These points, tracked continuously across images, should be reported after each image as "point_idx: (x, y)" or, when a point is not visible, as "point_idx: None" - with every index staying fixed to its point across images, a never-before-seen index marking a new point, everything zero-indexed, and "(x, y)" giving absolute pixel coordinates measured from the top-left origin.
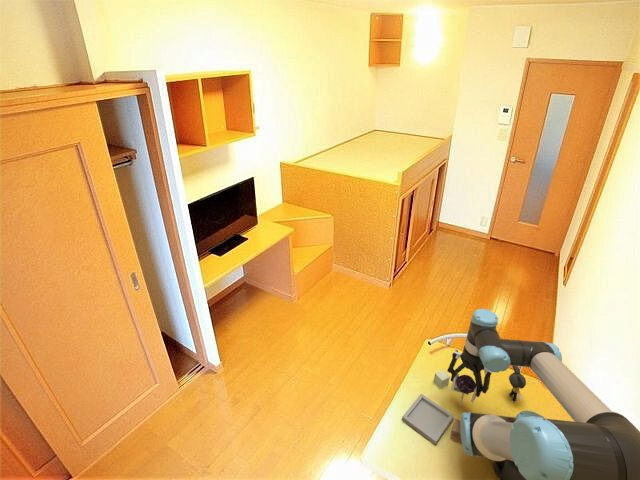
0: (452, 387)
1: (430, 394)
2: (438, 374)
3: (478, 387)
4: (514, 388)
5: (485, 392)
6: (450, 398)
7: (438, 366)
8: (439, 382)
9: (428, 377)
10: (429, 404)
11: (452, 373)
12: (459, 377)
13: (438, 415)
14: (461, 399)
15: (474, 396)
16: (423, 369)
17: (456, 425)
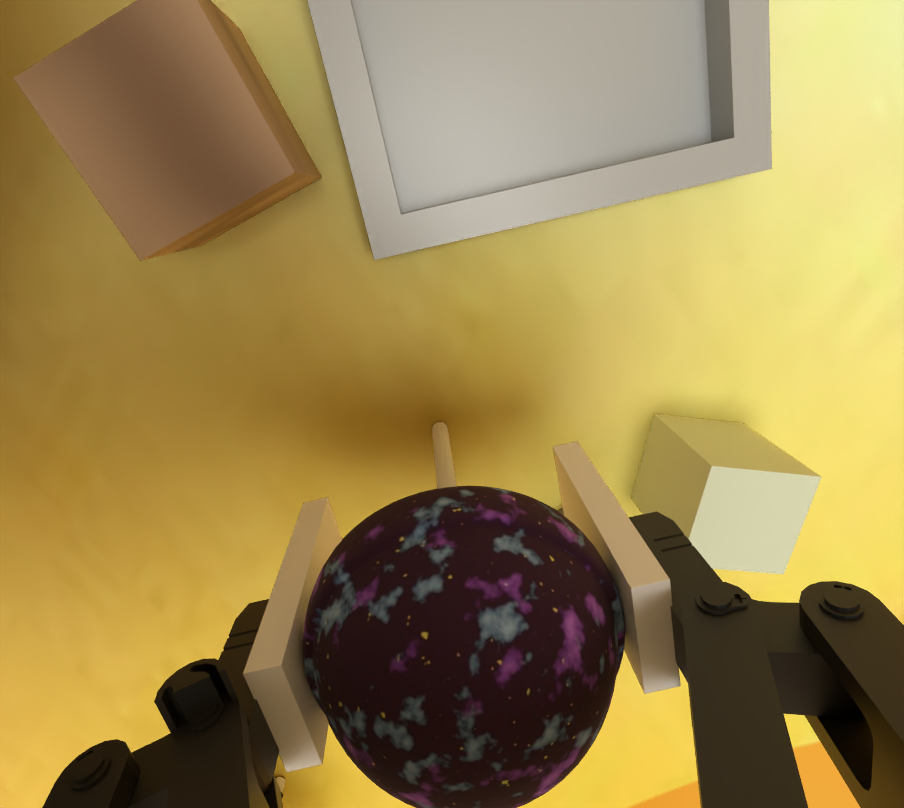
0: (578, 463)
1: (683, 287)
2: (784, 493)
3: (196, 777)
4: None
5: (61, 786)
6: (533, 412)
7: (794, 576)
8: (709, 441)
9: (800, 421)
10: (623, 161)
11: (756, 623)
12: (603, 656)
13: (483, 143)
14: (441, 460)
15: (279, 574)
16: (880, 449)
17: (208, 92)
